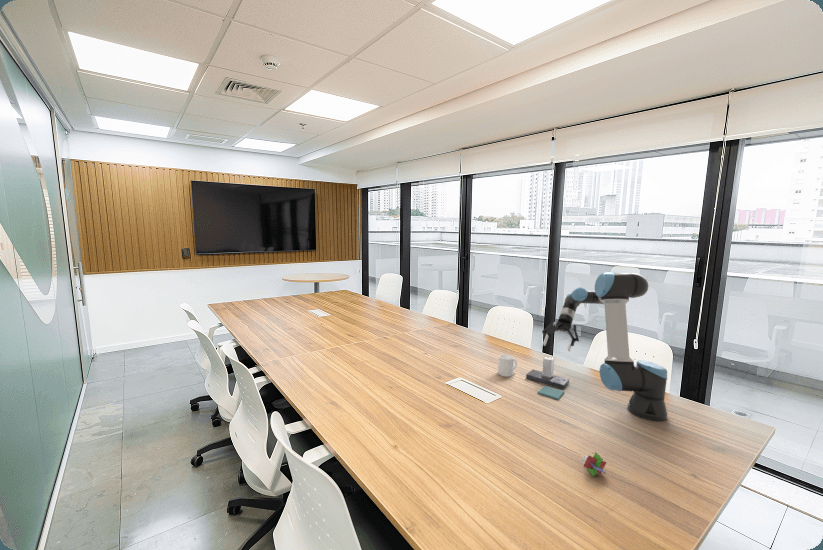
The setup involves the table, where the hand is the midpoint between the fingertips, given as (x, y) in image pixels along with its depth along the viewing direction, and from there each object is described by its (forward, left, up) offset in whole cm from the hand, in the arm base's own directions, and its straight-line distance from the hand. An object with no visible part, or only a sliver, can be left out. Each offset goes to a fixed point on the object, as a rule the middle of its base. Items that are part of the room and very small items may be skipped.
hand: (556, 347), depth 200 cm
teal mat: (-19, +19, -16) cm, 31 cm away
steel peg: (-6, +10, -16) cm, 20 cm away
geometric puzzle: (-72, +48, -17) cm, 88 cm away
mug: (+9, +25, -17) cm, 31 cm away
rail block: (-6, +10, -16) cm, 20 cm away
